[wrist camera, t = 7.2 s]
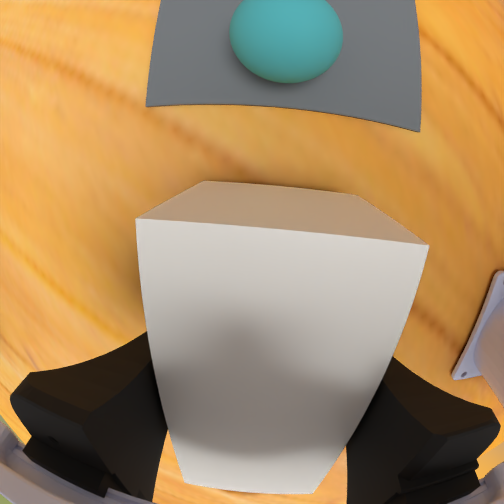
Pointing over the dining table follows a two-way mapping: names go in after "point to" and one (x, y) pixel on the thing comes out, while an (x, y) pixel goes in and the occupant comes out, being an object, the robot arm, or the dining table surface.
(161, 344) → the white rectangular block
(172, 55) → the thin grey square plate
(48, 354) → the dining table surface
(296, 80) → the ball
